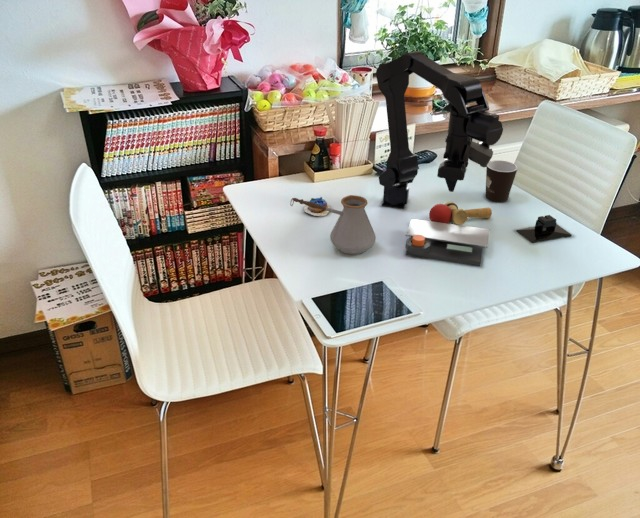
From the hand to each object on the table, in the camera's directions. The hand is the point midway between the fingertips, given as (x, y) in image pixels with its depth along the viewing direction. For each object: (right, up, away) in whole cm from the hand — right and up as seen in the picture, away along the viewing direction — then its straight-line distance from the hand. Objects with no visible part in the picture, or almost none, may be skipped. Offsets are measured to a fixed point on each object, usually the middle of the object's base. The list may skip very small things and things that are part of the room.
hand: (451, 191), depth 151 cm
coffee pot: (-30, -15, -2) cm, 34 cm away
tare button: (-9, -14, -5) cm, 17 cm away
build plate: (+26, -11, +6) cm, 28 cm away
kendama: (+5, -7, +11) cm, 14 cm away
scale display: (0, -15, -7) cm, 17 cm away
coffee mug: (+19, +1, +25) cm, 31 cm away
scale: (-2, -14, -1) cm, 15 cm away
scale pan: (-1, -11, -1) cm, 11 cm away
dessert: (-34, -4, +16) cm, 38 cm away
